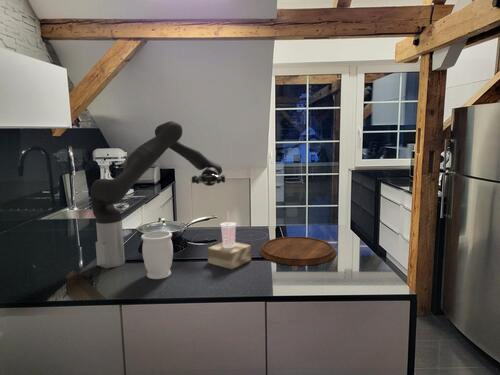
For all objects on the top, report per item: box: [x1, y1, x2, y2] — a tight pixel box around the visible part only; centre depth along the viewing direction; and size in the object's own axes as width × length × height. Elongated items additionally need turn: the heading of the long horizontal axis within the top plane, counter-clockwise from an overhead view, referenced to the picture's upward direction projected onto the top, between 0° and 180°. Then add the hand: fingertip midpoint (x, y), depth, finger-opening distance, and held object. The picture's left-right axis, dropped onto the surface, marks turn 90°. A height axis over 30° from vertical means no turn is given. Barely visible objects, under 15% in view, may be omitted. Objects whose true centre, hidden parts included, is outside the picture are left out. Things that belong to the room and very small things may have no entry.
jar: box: [141, 230, 174, 280], centre depth 132 cm, size 11×10×15 cm
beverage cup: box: [220, 210, 237, 248], centre depth 144 cm, size 6×6×14 cm
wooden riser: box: [207, 241, 252, 270], centre depth 145 cm, size 12×12×6 cm
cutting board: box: [258, 236, 337, 266], centre depth 156 cm, size 32×32×3 cm
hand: (207, 181), depth 156 cm, fingers open, 8 cm apart
